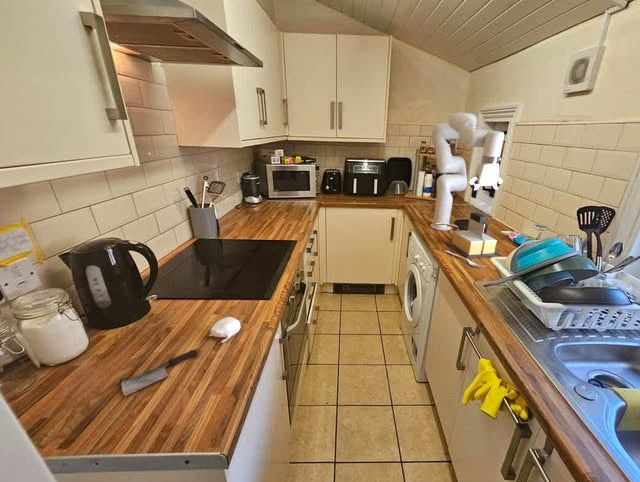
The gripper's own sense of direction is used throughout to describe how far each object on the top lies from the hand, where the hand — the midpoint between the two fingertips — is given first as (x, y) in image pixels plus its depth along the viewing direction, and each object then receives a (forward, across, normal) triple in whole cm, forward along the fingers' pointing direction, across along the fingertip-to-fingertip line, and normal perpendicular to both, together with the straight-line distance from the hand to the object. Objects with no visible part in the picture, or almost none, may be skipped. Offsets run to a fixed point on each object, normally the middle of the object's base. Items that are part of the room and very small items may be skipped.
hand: (482, 197), depth 144 cm
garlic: (+26, +111, +49) cm, 124 cm away
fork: (+26, +13, +13) cm, 32 cm away
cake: (+26, +2, +2) cm, 26 cm away
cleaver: (+25, +123, +62) cm, 140 cm away
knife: (+18, +2, +2) cm, 18 cm away
